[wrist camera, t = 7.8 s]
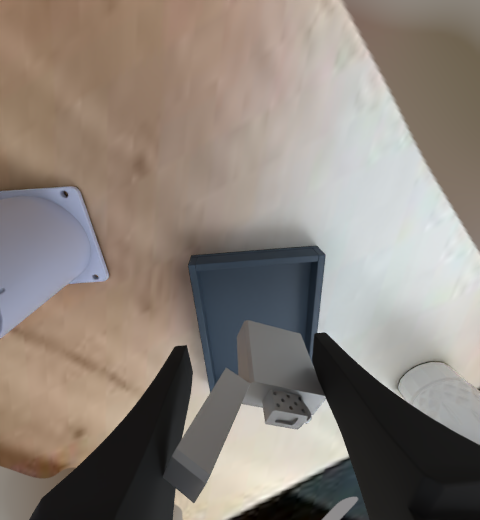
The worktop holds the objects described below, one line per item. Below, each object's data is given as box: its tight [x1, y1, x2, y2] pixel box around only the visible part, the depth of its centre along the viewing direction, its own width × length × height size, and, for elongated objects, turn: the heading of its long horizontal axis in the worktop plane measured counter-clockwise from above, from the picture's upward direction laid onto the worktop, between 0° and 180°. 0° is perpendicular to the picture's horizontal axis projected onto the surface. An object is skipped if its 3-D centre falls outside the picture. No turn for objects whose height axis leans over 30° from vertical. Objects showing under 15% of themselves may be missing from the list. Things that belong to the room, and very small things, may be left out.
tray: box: [188, 246, 325, 393], centre depth 23 cm, size 11×17×2 cm, turn 3°
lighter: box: [163, 320, 326, 503], centre depth 11 cm, size 7×2×8 cm, turn 70°
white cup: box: [398, 362, 480, 445], centre depth 24 cm, size 8×8×10 cm
